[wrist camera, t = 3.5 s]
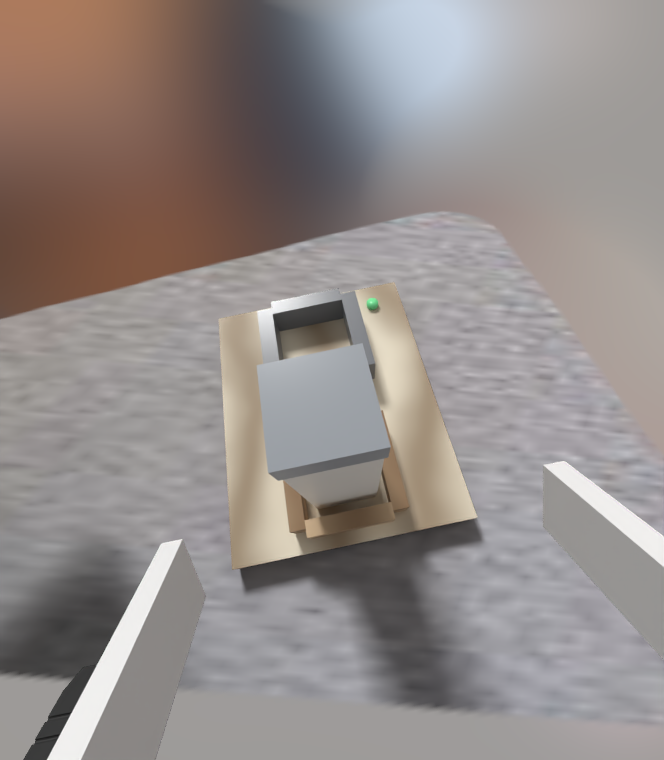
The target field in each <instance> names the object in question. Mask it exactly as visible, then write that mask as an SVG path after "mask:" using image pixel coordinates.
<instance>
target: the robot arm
mask: <svg viewBox="0 0 664 760" xmlns="http://www.w3.org/2000/svg"><path fill="white" fill-rule="evenodd" d="M543 527H544V528H545V529H546V531H547V532H548V533H549V534H550V535H551V536H552V537H553V538H554V539H555V541H556V542H557V543H558V544H559V545H560V546H561V547H562V548H563V549H564V551H565V552H566V553H567V554H568V555H569V556H570V557H571V558H572V559H573V560H574V562H575V563H576V564H577V565H578V566H579V567H580V568H581V569H582V570H583V572H584V573H585V574H586V575H587V576H588V577H589V578H590V579H591V580H592V582H593V583H594V584H595V585H596V586H597V587H598V588H599V589H600V590H601V591H602V593H603V594H604V595H605V596H606V597H607V598H608V599H609V600H610V601H611V603H612V604H613V605H614V606H615V607H616V608H617V609H618V610H619V611H620V612H621V614H622V615H623V616H624V617H625V618H626V619H627V620H628V621H629V622H630V624H631V625H632V626H633V627H634V628H635V629H636V630H637V631H638V632H639V634H640V635H641V636H642V637H643V638H644V639H645V640H646V641H647V642H648V643H649V645H650V646H651V647H652V648H653V649H654V650H655V651H656V652H657V653H658V655H659V656H660V657H661V658H662V659H663V660H664V536H663V535H661V534H660V533H659V532H657V531H656V530H655V529H653V528H652V527H651V526H649V525H648V524H647V523H645V522H644V521H643V520H641V519H640V518H639V517H637V516H636V515H635V514H634V513H632V512H631V511H630V510H628V509H627V508H626V507H624V506H623V505H622V504H620V503H619V502H618V501H616V500H615V499H614V498H612V497H611V496H610V495H608V494H607V493H606V492H605V491H603V490H602V489H601V488H599V487H598V486H597V485H595V484H594V483H593V482H591V481H590V480H589V479H587V478H586V477H585V476H583V475H582V474H581V473H579V472H578V471H577V470H576V469H574V468H573V467H572V466H570V465H569V464H568V463H566V462H565V461H561V462H556V463H552V464H547V465H543ZM205 598H206V595H205V592H204V590H203V588H202V585H201V583H200V580H199V578H198V575H197V573H196V571H195V568H194V566H193V563H192V561H191V558H190V556H189V554H188V551H187V549H186V546H185V544H184V541H183V539H181V540H176V541H171V542H166V543H161V545H160V547H159V549H158V551H157V553H156V555H155V557H154V558H153V560H152V562H151V564H150V566H149V568H148V570H147V572H146V574H145V575H144V577H143V579H142V581H141V583H140V585H139V587H138V589H137V591H136V592H135V594H134V596H133V598H132V600H131V602H130V604H129V606H128V608H127V609H126V611H125V613H124V615H123V617H122V619H121V621H120V623H119V625H118V626H117V628H116V630H115V632H114V634H113V636H112V638H111V640H110V642H109V643H108V645H107V647H106V649H105V651H104V653H103V655H102V657H101V659H100V660H99V662H98V664H97V665H92V666H87V667H83V668H82V669H81V671H80V672H79V673H78V674H77V675H76V676H75V678H74V679H73V680H72V681H71V682H70V683H69V685H68V686H67V687H66V688H65V689H64V690H63V692H62V694H61V696H60V697H59V699H58V701H57V703H56V704H55V706H54V708H53V709H52V711H51V713H50V715H49V716H48V721H47V722H45V723H44V725H43V727H42V728H41V730H40V732H39V734H38V735H37V737H36V739H35V740H36V741H35V744H34V745H32V746H31V748H30V749H29V751H28V753H27V754H26V756H25V758H24V760H155V759H156V756H157V753H158V749H159V746H160V743H161V740H162V736H163V733H164V730H165V727H166V723H167V720H168V717H169V714H170V711H171V707H172V704H173V701H174V698H175V695H176V691H177V688H178V685H179V682H180V678H181V675H182V672H183V669H184V665H185V662H186V659H187V656H188V653H189V649H190V646H191V643H192V640H193V636H194V633H195V630H196V627H197V623H198V620H199V617H200V614H201V611H202V607H203V604H204V601H205Z"/></svg>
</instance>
